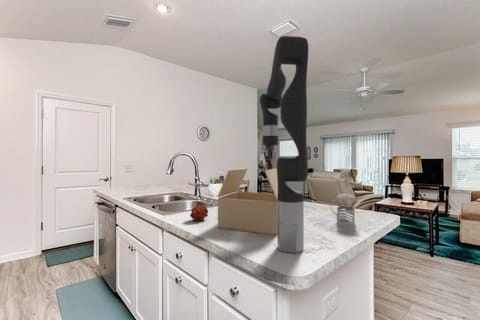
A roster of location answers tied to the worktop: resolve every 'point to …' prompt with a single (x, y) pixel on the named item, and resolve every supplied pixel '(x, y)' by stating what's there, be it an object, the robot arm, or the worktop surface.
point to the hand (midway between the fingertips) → (269, 171)
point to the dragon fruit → (199, 213)
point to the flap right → (273, 180)
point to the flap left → (232, 181)
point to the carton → (249, 212)
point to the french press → (343, 221)
